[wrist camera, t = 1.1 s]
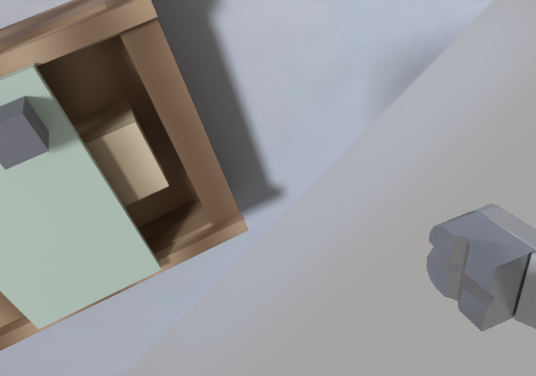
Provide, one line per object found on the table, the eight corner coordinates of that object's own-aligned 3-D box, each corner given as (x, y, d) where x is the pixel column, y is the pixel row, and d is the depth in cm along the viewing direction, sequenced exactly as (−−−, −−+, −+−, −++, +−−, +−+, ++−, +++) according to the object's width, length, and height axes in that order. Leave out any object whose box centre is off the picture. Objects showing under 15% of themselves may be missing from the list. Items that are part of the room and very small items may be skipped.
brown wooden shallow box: (134, -24, 25) (147, -9, 22) (230, 197, 35) (249, 232, 31) (-216, 114, 23) (-262, 155, 19) (-7, 310, 32) (-15, 360, 29)
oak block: (127, 98, 28) (135, 122, 25) (158, 158, 30) (169, 185, 28) (53, 129, 27) (54, 157, 24) (92, 188, 30) (96, 219, 27)
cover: (33, 63, 21) (31, 82, 19) (159, 263, 30) (167, 291, 28) (-145, 136, 20) (-167, 165, 18) (39, 322, 29) (37, 355, 27)
